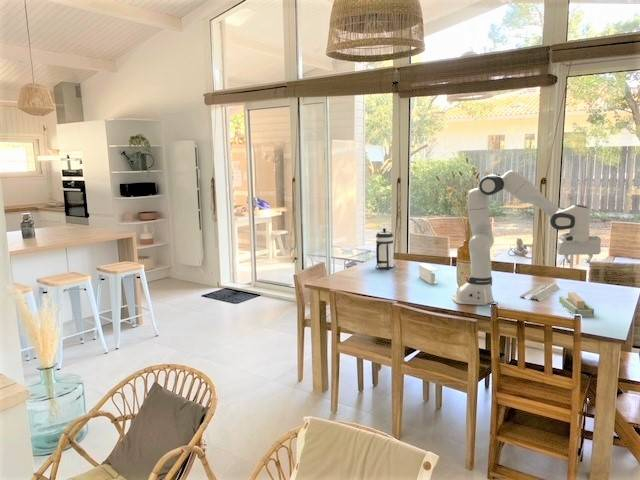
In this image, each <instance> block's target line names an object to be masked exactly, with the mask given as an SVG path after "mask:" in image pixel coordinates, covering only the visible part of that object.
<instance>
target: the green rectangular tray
mask: <svg viewBox="0 0 640 480" xmlns="http://www.w3.org/2000/svg"><path fill="white" fill-rule="evenodd" d="M558 299H559V300H558V303H561V304H562V305H563V306H564V307H565V308H567V309H568V310H569V311H571V312H572V313H573V314H581V315H582V317H583V316H587V317H588V318H589V317H594V314H595V309H594V307H592V306H591V305H589V304H588V303H587V302H585V304H584V310H578V308H576V307H575V306H574V305H573V304H571V303H570V302H569V301H568V297H565V296H561V295H559V297H558ZM561 304H560V305H561ZM562 305H561V306H562ZM563 306H562V307H563ZM564 307H563V308H564ZM565 308H564V309H565ZM568 310H567V311H568ZM569 311H568V312H569Z"/></svg>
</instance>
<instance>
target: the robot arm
mask: <svg viewBox="0 0 640 480" xmlns="http://www.w3.org/2000/svg"><path fill="white" fill-rule="evenodd" d="M502 190H503V191H507V192H508V193H510V194H511V195H512V196H513V197H515V198H516V199H517V200H519V202H521V203H524V204H530V205H533V206H536V207H537V208H539V210H541V211H542V212H544V213H545V215H547V216H548V217H549V218H550V220H549V223H550V225H551V227H552V228H553V229H555V230H558V231H563V230H569V232H567V233H563V234H560V235H559V240H558V242H557V246H556V253H557V254H558V255H559V256H564V258H565V260H566V262H565V263H566V264H571V259H569V256H574V255H576V256H577V255H578V256H579V255H581V256H582V255H587V256H588V257H587V258H586V259H585V263H586V264H590V263H591V259H592V258H594V257H593V256H594V255H599V254H601V252H602V250H601V242H602V238H601V237H599V236H597V235H593V236H591V235H590V224H591V223H590V222H591V212H590V208H588V206H586V205H582V204H572V205H571V206H569V207H567V208H564V207H560V206H557V205H556V204H555V203H553V202H552V201H551V200H549V199H548V198H547V197H545V195H543V193H542V192H541V191H540V190H539V189H538V187H537V186H536V185H535V184H534V183H533V182H532V181H530V180H529V179H528V178H527V177H525V176H524V175H523V174H521V173H519V172H517V171H515V170H508V171H506V172H504V173H503V175H501V176H500V175H499V174H497V173H488V174H487V175H485V176H483V177H482V178H481V179H480V180H479V183H478V187H476V188H475V187H474V188H472V189H470V190H469V191H468V193H467V199H466V200H467V202H466V203H467V217H468V223H469V226H470V230H471V233H472V236H471V237H470V239H469V241H468V245H467V246H468V251H469V260H470V275H467V274H466V275H465V277H464V278H465V279H466V282H465V283H464V284H462V285H460V286H459V287H458V288H457V291H456V294H455V295H453V296H452V301H453V302H454V303H455V304H459V305H460V304H462V305H474V306H475V305H479V306H485V305H488V304H491V303H493V302H494V300H495V299H494V296H493V289H492V285H493V276H492V260H491V259H492V258H491V248H492V246H493V245H494V242H495V241H494V239H495V238H494V234H493V229H492V225H491V220H490V210H489V197H490V196H493V195H496V194H498V193H499V192H501V191H502Z"/></svg>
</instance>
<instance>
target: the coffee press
mask: <svg viewBox="0 0 640 480" xmlns="http://www.w3.org/2000/svg"><path fill="white" fill-rule="evenodd" d="M393 237H394V235H393V233H392V232H391V231H387V229H386V228H383V229H382V231H379V232H377V233H376V235H375V238H376V240H375V244H376V248H375V250H376V252H375V254H376V265H375V269H379V268H386V270H387V271H388V270H390V267H392V268H395V267H396V265H395V264H394V238H393Z"/></svg>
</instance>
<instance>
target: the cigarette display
mask: <svg viewBox="0 0 640 480" xmlns="http://www.w3.org/2000/svg"><path fill="white" fill-rule="evenodd" d="M418 266H419V267H418V277H419V278H420V279H422V280H423V281H425V282H427V283H428V284H429V285H433V284H438V282H437V281H436V274H435V273H433V272H432V271H438V268H436V267H434V266H432V265H431V264H428V263H419V264H418Z"/></svg>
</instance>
